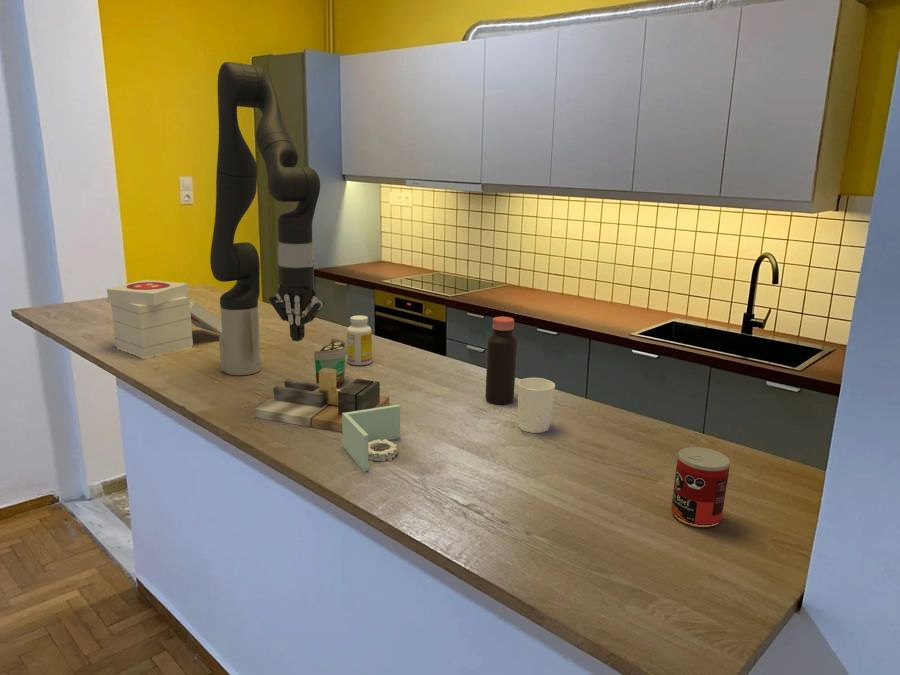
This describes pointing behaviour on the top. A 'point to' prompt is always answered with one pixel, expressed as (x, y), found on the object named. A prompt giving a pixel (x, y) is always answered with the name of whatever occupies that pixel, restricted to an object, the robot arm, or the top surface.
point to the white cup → (535, 404)
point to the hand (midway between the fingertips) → (297, 340)
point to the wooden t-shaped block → (328, 385)
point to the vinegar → (501, 362)
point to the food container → (332, 360)
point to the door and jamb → (319, 403)
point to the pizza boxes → (157, 317)
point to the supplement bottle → (359, 341)
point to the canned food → (700, 485)
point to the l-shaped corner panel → (371, 434)
